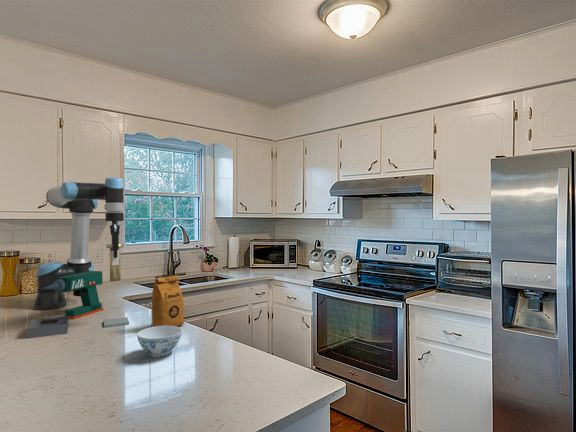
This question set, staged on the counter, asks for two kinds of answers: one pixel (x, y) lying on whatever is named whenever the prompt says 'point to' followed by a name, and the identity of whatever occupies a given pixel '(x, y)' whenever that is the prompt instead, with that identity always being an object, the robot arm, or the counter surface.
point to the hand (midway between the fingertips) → (115, 264)
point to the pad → (116, 322)
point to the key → (115, 269)
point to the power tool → (80, 292)
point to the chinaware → (159, 339)
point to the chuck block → (48, 327)
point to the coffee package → (167, 303)
